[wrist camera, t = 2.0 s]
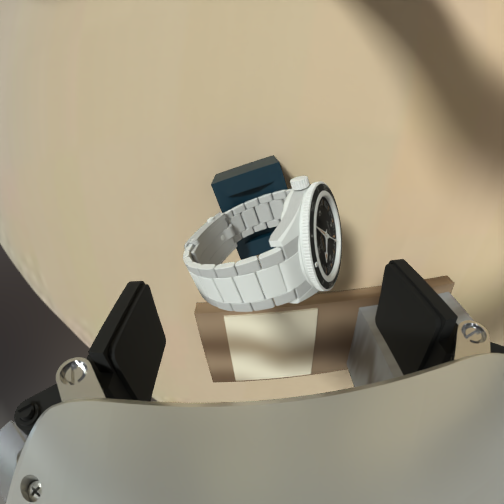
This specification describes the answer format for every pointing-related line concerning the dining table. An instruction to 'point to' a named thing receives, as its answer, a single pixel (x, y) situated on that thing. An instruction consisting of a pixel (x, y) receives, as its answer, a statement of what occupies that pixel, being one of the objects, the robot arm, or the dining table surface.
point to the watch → (266, 240)
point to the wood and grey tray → (306, 337)
